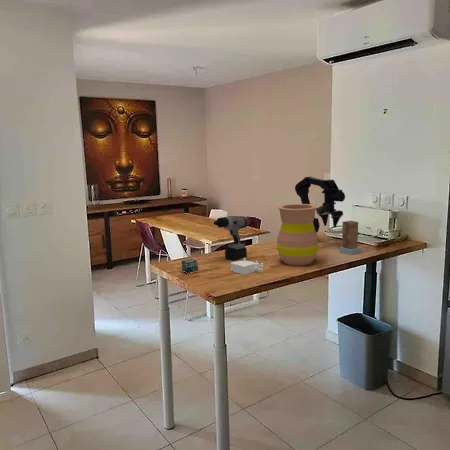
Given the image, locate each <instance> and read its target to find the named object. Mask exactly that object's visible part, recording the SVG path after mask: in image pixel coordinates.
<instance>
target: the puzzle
mask: <svg viewBox="0 0 450 450" xmlns="http://www.w3.org/2000/svg"><path fill="white" fill-rule="evenodd" d="M198 265H199V264H198V260H195V259H194V258H188V259H184V260H181V271H182V270H183V271H185V272H187V273H190V272H195V271H198V272H199V269H198V268H199V267H198Z"/></svg>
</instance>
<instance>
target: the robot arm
mask: <svg viewBox="0 0 450 450" xmlns="http://www.w3.org/2000/svg"><path fill="white" fill-rule="evenodd" d="M312 185H314V186H317V187H320V188H321V189H322V191H321V194H323V195H324V199H323V200H324V201H323V202H322V205H321V206H318V207H317V208H316V210H315V212H316V214H317V215H318V216H319V217H320V218H321V220H322V223H323V225H324V226H325V227H327V225H328V224H327V223H328V219H329V215H331V216H330V217H331V219H332V224H333V225H332V226H333V228H336V227H337V225H338V223H339V221H340V219H341V218H342V216H343V217H344V212H343V210H337V209H335V205H336V204H337V202H344V200H345V198H346V194H345V193H344V191H343V189H340V188H339V187H338V185H337V183H336V181H335V180H334V179H322V178H317V177H313V176H304V178H302V180H300V181H298V182H297V183H296V184H295V187H294V190H295V193H296V195H297V196H298V197H300V201H301V204H311V201H310V199H309V192H310V187H311V186H312ZM313 224H314V228H315V231H316V234H317V233H319V230H320V228H321V227H320V226H321V224H320V221H319V218H318V217H317V218H316V217H315V216H314V220H313Z"/></svg>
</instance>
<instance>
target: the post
mask: <svg viewBox="0 0 450 450" xmlns="http://www.w3.org/2000/svg"><path fill="white" fill-rule="evenodd" d="M341 234H342V235H341V236H342V238H341V239H342V240H341V241H342V243H341V244H342V246H341V247H343V248H347V249H354V248H358V246H359V238H358V237H359V221H355V220H354V221H353V220H346V221H342V233H341Z"/></svg>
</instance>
